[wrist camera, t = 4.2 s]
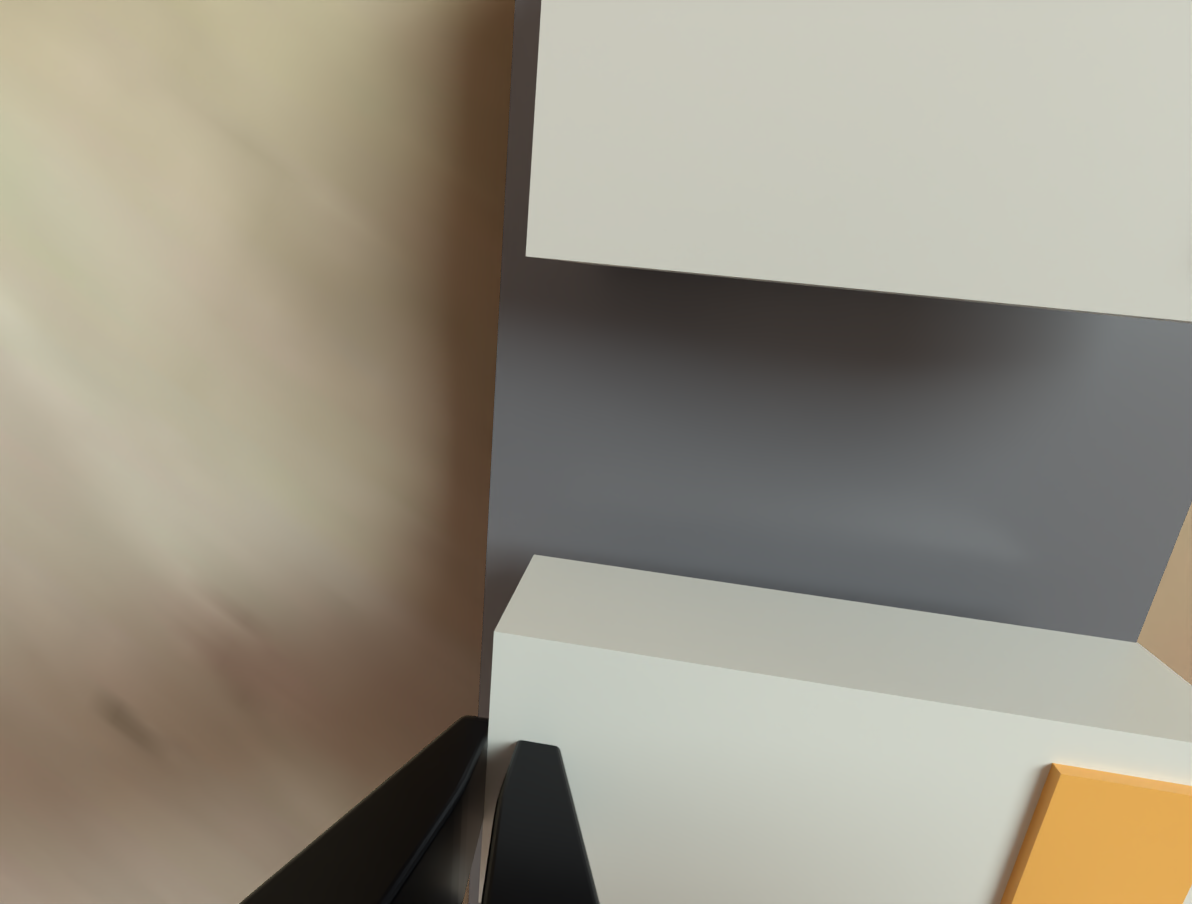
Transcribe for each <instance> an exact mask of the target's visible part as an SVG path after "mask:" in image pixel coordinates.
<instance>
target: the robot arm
mask: <svg viewBox="0 0 1192 904" xmlns="http://www.w3.org/2000/svg"><path fill="white" fill-rule="evenodd" d="M488 726H489V718H483V717H476V716H464V717H461V718H460V719H459V720H457V721H456V722H455V723H454V724H453V725H452V726H450V727H449V728H448V729H447V730H446V731H444V732H443V733H442V734H441V735H440V736H438V737H437V738H436V739H435V740H434V741H432V742H431V743H430V744H429V745H428V746H426V747H425V748H424V749H423V750H422V751H421V752H419V753H418V754H417V755H416V756H415V757H413V758H412V759H411V760H410V761H409V762H407V763H406V764H405V765H404V766H403V767H401V768H400V769H399V770H398V771H397V772H395V773H394V774H393V775H392V776H391V777H390V778H388V779H387V780H386V781H385V782H384V783H382V784H381V785H380V786H379V787H378V788H376V789H375V790H374V791H373V792H372V793H370V794H369V795H368V796H367V797H366V798H364V799H363V800H362V801H361V802H360V803H359V804H357V805H356V806H355V807H354V808H353V809H351V810H350V811H349V812H348V813H347V814H345V815H344V816H343V817H342V818H341V819H339V820H338V821H337V822H336V823H335V824H334V825H332V826H331V827H330V828H329V829H328V830H326V831H325V832H324V833H323V834H322V835H320V836H319V837H318V838H317V839H316V840H314V841H313V842H312V843H311V844H310V845H308V846H307V847H306V848H305V849H304V850H303V851H301V852H300V853H299V854H298V855H297V856H295V857H294V858H293V859H292V860H291V861H289V862H288V863H287V864H286V865H285V866H283V867H282V868H281V869H280V870H279V871H277V872H276V873H275V874H274V875H273V876H272V877H270V878H269V879H268V880H267V881H266V882H264V883H263V884H262V885H261V886H260V887H258V888H257V889H256V890H255V891H254V892H252V893H251V894H250V895H249V896H248V897H246V898H245V899H244V900H243V901H242V902H241V903H239V904H462V902H463V898H464V894H465V890H466V886H467V882H468V878H469V874H470V870H471V866H472V862H473V858H474V854H475V850H476V846H477V842H478V838H479V834H480V830H481V826H482V822H483V818H484V801H485V784H486V766H487V749H488ZM481 904H600V902H599V898H598V894H597V890H596V886H595V882H594V879H593V875H592V871H591V867H590V863H589V859H588V855H587V851H586V847H585V844H584V840H583V836H582V832H581V828H580V824H579V820H578V816H577V812H576V809H575V805H574V801H573V797H572V793H571V789H570V785H569V781H568V777H567V774H566V770H565V766H564V762H563V758H562V754H561V750H560V748H559V747H557V746H554V745H548V744H542V743H536V742H530V741H525V740H519V741H518V742H517V743H516V746H515V748H514V751H513V754H512V757H511V760H510V763H509V766H508V768H507V771H506V774H505V777H504V780H503V783H502V785H501V788H500V792H499V795H498V798H497V802H496V807H495V812H494V818H493V824H492V831H491V838H490V845H489V852H488V858H487V865H486V872H485V879H484V885H483V892H482V899H481Z"/></svg>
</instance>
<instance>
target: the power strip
mask: <svg viewBox="0 0 1192 904" xmlns="http://www.w3.org/2000/svg"><path fill="white" fill-rule="evenodd" d="M540 17H541V0H515V13H514V32H513V52H512V71H511V90H510V110H509V129H508V148H507V168H506V187H505V206H504V226H503V245H502V264H501V284H500V303H499V322H498V342H497V361H496V380H495V400H494V419H493V438H492V458H491V477H490V496H489V516H488V535H487V554H486V574H485V593H484V612H483V632H482V651H481V670H480V690H479V709H478V717H483V718H489V709H490V691H491V674H492V657H493V639H494V630H495V628H496V627H497V625H498V623H499V621H500V619H501V617H502V615H503V613H504V611H505V609H506V607H507V605H508V603H509V601H510V600H511V598H512V596H513V594H514V592H515V590H516V588H517V586H518V584H519V582H520V580H521V578H522V576H523V575H524V573H525V571H526V569H527V567H528V565H529V563H530V561H531V559H532V557H533V555H541V556H548V557H555V558H562V559H568V560H575V561H582V562H589V563H596V564H602V565H609V566H616V567H623V568H630V569H637V570H643V571H650V572H657V573H664V574H671V575H678V576H684V577H691V578H698V579H705V580H712V581H718V582H725V583H732V584H739V585H746V586H753V587H759V588H766V589H773V590H780V591H787V592H794V593H800V594H807V595H814V596H821V597H828V598H835V599H841V600H848V601H855V602H862V603H869V604H875V605H882V606H889V607H896V608H903V609H910V610H916V611H923V612H930V613H937V614H944V615H951V616H957V617H964V618H971V619H978V620H985V621H992V622H998V623H1005V624H1012V625H1019V626H1026V627H1032V628H1039V629H1046V630H1053V631H1060V632H1067V633H1073V634H1080V635H1087V636H1094V637H1101V638H1108V639H1114V640H1121V641H1128V642H1135V643H1136V642H1137V639H1138V637H1139V634H1140V632H1141V629H1142V627H1143V624H1144V621H1145V619H1146V616H1147V614H1148V611H1149V609H1150V606H1151V604H1152V601H1153V599H1154V596H1155V594H1156V591H1157V588H1158V586H1159V583H1160V581H1161V578H1162V576H1163V573H1164V571H1165V568H1166V566H1167V563H1168V560H1169V558H1170V555H1171V553H1172V550H1173V548H1174V545H1175V543H1176V540H1177V538H1178V535H1179V533H1180V530H1181V527H1182V525H1183V522H1184V520H1185V517H1186V515H1187V512H1188V510H1189V507H1190V505H1191V502H1192V324H1191V323H1181V322H1171V321H1161V320H1150V319H1140V318H1130V317H1120V316H1110V315H1100V314H1090V313H1079V312H1069V311H1059V310H1049V309H1039V308H1029V307H1019V306H1008V305H998V304H988V303H978V302H968V301H958V300H948V299H938V298H927V297H917V296H907V295H897V294H887V293H877V292H867V291H856V290H846V289H836V288H826V287H816V286H806V285H796V284H785V283H775V282H765V281H755V280H745V279H735V278H725V277H714V276H704V275H694V274H684V273H674V272H664V271H654V270H643V269H633V268H623V267H613V266H603V265H593V264H584V263H576V262H568V261H560V260H552V259H543V258H535V257H527V256H526V242H527V226H528V210H529V194H530V178H531V162H532V146H533V129H534V113H535V97H536V81H537V65H538V49H539V33H540ZM482 830H483V822H482V826H481V830H480V834H479V838H478V842H477V846H476V850H475V854H474V858H473V862H472V866H471V870H470V883H469V902H468V904H481V903H479V902H478V899H479V882H480V865H481V847H482Z"/></svg>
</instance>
